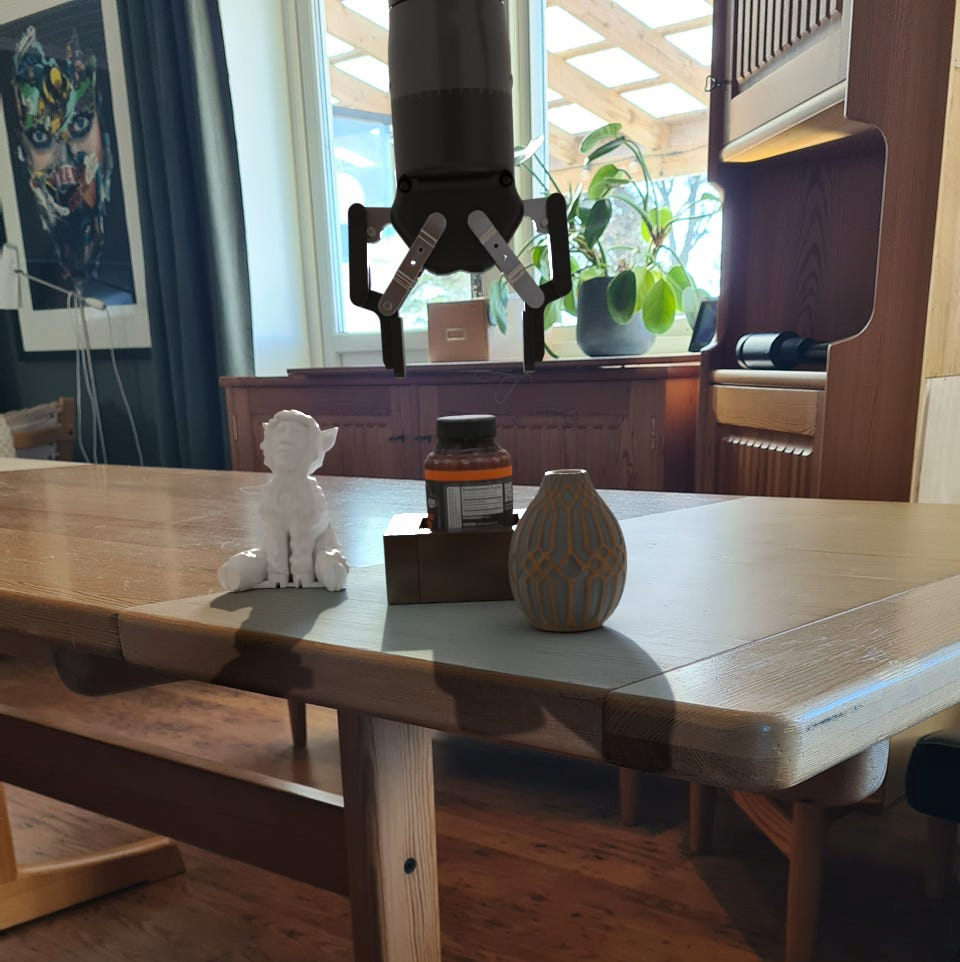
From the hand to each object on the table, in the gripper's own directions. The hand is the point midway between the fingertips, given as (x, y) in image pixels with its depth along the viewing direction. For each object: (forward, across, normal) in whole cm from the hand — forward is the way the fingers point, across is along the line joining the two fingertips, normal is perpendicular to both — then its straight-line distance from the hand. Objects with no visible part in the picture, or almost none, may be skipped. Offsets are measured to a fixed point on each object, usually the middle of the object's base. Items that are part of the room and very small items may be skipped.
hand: (465, 375), depth 85 cm
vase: (+14, +6, -15) cm, 21 cm away
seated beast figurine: (+14, -13, +5) cm, 20 cm away
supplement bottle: (+14, 0, 0) cm, 14 cm away
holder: (+14, 0, 0) cm, 14 cm away
